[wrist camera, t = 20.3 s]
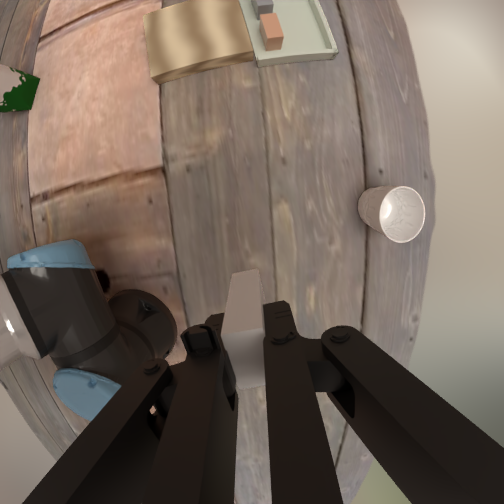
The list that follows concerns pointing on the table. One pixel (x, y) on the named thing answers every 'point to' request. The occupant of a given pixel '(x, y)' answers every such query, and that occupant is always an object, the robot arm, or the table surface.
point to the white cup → (393, 211)
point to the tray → (293, 33)
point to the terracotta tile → (271, 31)
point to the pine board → (195, 38)
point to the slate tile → (262, 7)
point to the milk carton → (16, 89)
